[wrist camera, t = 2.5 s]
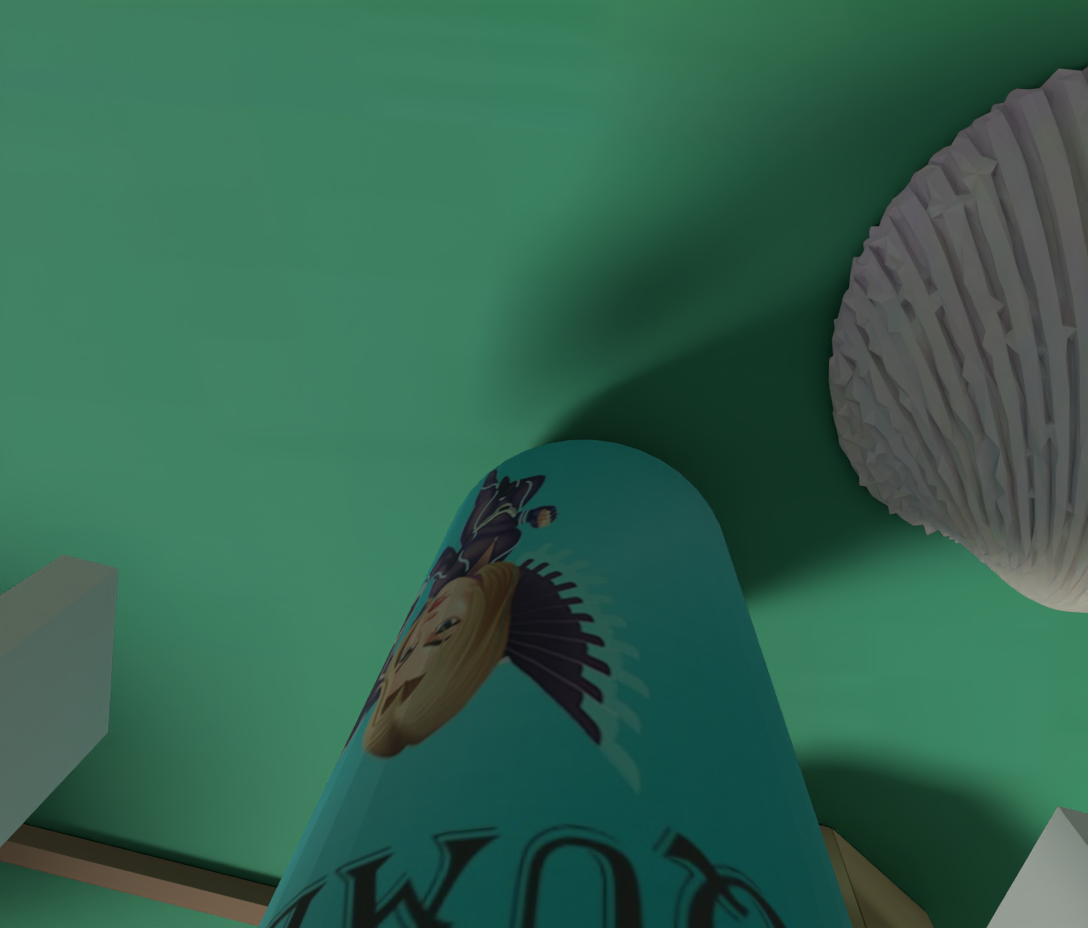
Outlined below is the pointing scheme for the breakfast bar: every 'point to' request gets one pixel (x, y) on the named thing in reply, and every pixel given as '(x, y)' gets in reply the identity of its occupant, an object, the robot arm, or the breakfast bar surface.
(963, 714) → the breakfast bar surface
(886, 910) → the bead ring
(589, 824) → the beverage can
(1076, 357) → the seashell
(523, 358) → the breakfast bar surface
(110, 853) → the brown stick
